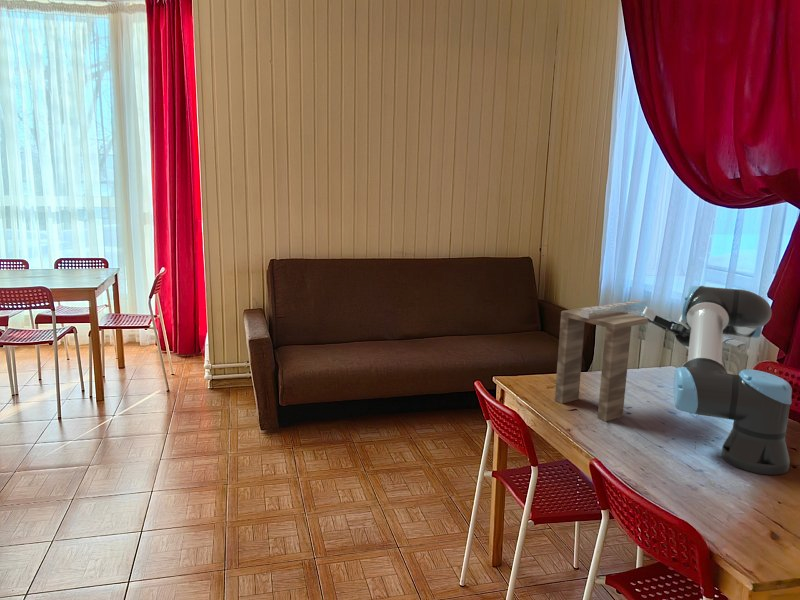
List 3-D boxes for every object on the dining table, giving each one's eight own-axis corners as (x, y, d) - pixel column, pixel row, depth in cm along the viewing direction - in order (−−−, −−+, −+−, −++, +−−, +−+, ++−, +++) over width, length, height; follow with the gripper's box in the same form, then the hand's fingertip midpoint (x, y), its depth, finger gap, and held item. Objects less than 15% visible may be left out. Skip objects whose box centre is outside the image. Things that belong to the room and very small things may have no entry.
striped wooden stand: (638, 411, 188) (648, 318, 182) (605, 421, 179) (614, 324, 173) (587, 392, 204) (594, 306, 198) (554, 400, 195) (561, 311, 189)
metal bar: (645, 309, 195) (646, 301, 194) (588, 318, 179) (589, 310, 179) (637, 307, 197) (638, 300, 197) (580, 316, 182) (581, 308, 181)
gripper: (720, 355, 205) (693, 331, 193) (655, 338, 225) (626, 316, 213) (728, 335, 206) (702, 311, 194) (662, 320, 226) (635, 297, 214)
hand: (662, 313), depth 204 cm, fingers open, 13 cm apart
